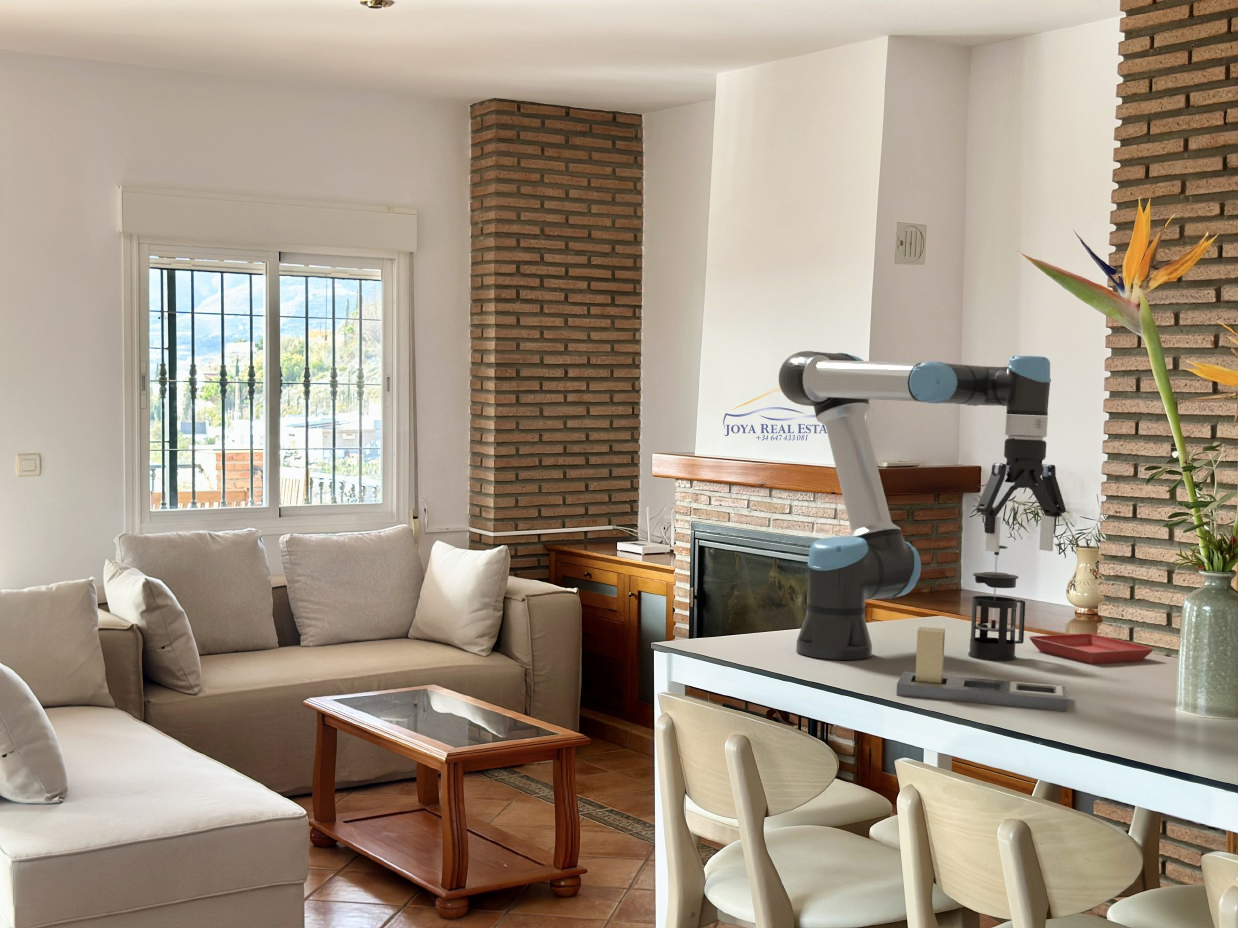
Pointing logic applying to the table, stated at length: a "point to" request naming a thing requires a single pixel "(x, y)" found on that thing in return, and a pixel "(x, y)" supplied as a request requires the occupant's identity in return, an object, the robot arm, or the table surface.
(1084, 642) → the red serving tray
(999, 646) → the french press
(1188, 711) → the table surface
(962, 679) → the grey flat slotted block
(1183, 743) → the table surface
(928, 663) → the peg
